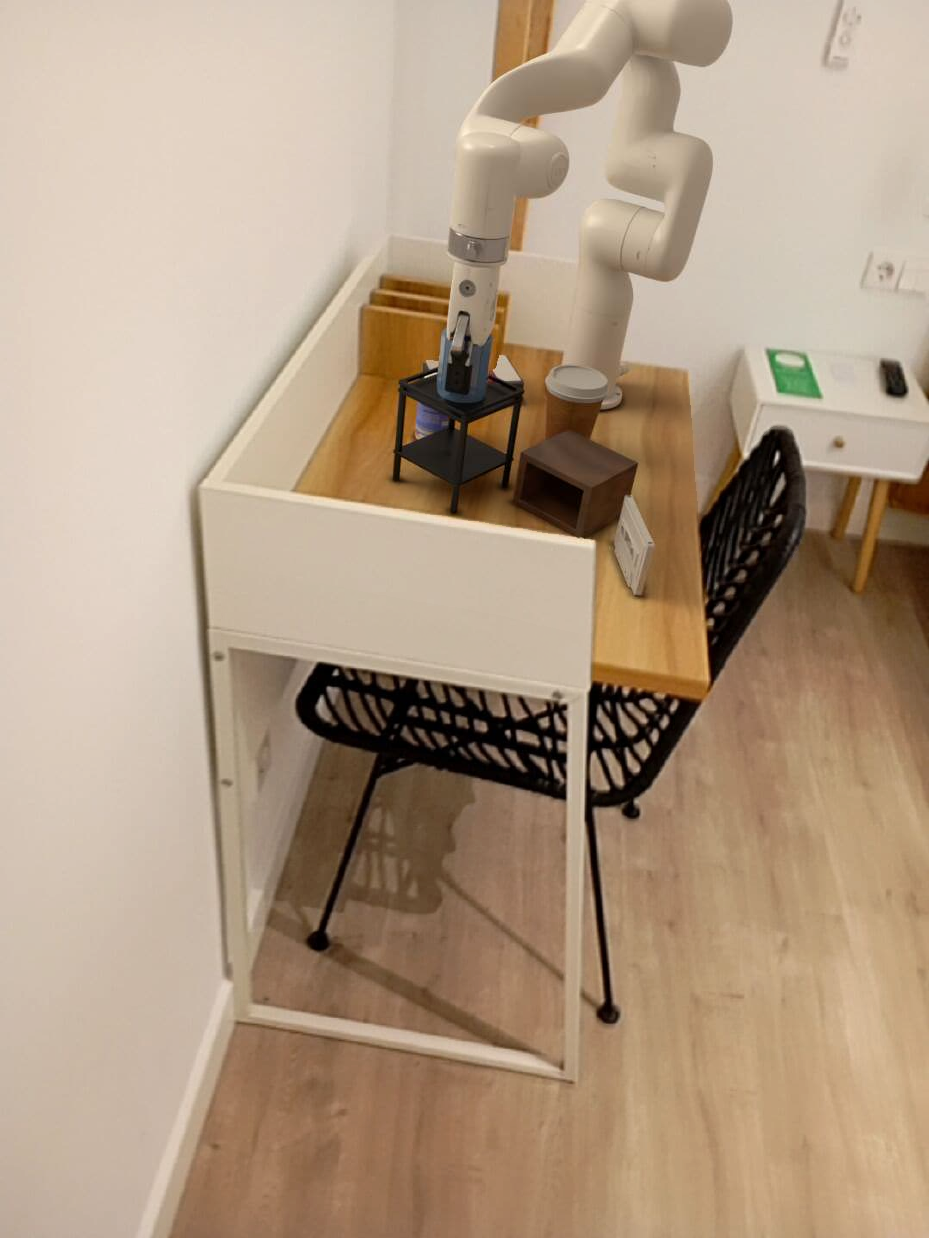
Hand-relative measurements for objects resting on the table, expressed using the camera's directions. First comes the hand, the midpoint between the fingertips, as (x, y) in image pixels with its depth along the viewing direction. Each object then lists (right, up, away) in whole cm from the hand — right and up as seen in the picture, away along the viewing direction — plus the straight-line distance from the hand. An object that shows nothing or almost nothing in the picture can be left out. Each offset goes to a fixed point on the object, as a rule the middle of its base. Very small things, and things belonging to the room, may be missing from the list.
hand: (462, 380), depth 135 cm
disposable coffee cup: (+16, -6, +22) cm, 27 cm away
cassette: (+21, -25, -3) cm, 33 cm away
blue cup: (0, -1, +1) cm, 2 cm away
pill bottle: (-5, -4, +20) cm, 21 cm away
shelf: (+15, -16, +8) cm, 23 cm away
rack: (-2, -12, +10) cm, 16 cm away
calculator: (+1, +7, +35) cm, 36 cm away
